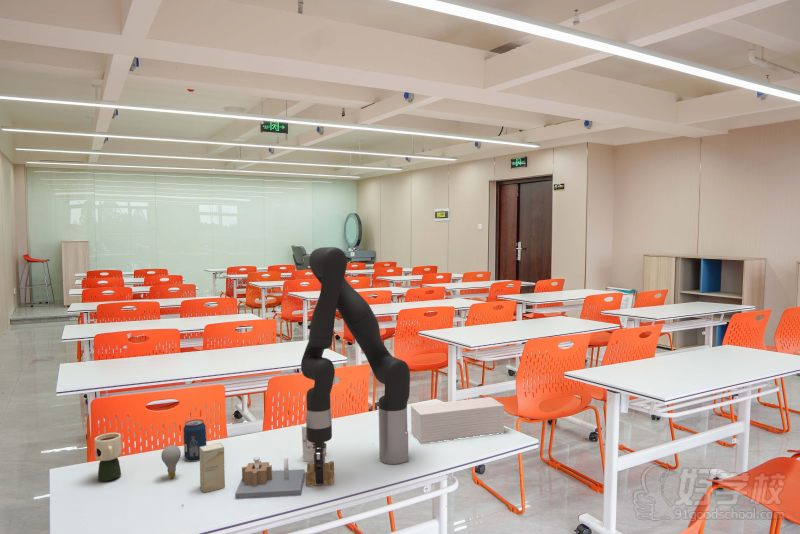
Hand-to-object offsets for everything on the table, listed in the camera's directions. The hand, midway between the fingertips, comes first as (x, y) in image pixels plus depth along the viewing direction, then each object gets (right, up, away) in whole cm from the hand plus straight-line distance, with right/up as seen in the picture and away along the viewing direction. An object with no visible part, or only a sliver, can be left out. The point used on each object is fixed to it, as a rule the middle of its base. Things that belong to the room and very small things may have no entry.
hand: (320, 478), depth 166 cm
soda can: (-44, 0, +18) cm, 47 cm away
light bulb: (-45, -1, +3) cm, 46 cm away
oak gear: (0, -1, 0) cm, 1 cm away
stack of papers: (+45, +2, +37) cm, 58 cm away
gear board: (-14, -1, -3) cm, 14 cm away
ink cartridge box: (-5, 0, +18) cm, 18 cm away
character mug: (-65, -1, +3) cm, 65 cm away
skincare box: (-31, -1, -4) cm, 31 cm away
